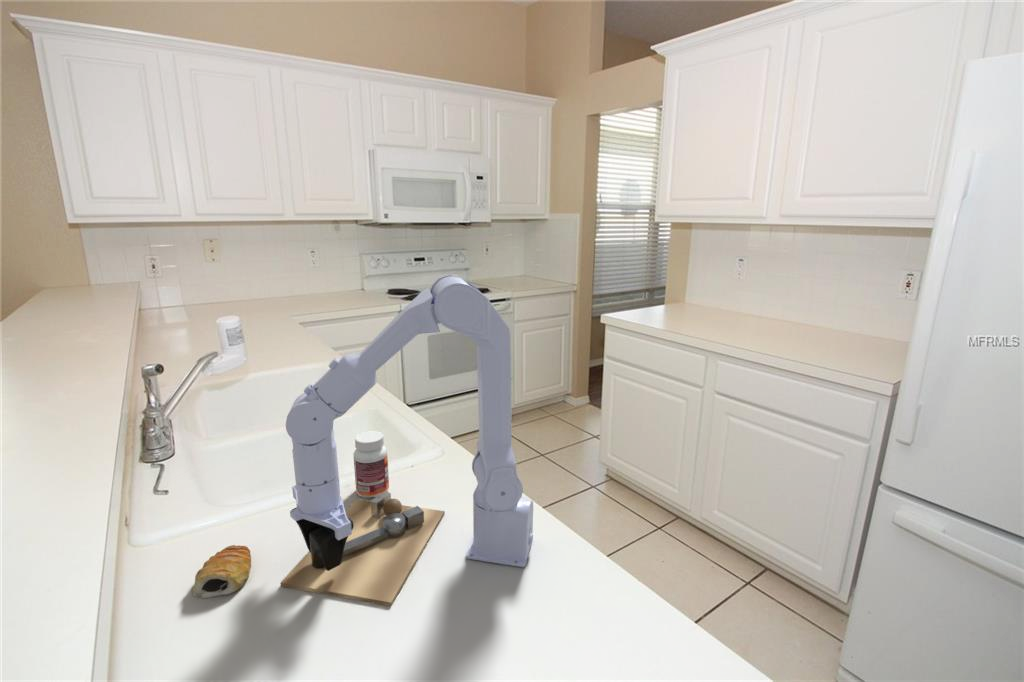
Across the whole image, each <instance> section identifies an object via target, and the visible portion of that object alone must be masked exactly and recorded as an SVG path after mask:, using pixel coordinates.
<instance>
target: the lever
mask: <svg viewBox="0 0 1024 682" xmlns="http://www.w3.org/2000/svg"><path fill="white" fill-rule="evenodd" d="M413 507H414V508H411V509H409V510H406V511H404V512H402V514H400V513H392V514H389V515H387V516H385V517H384V519H383V527H382V528H379V529H377V530H374V531H372V532H370V533H367V534H365V535H362V536H360V537H358V538H355V539H353V540H350V541H348V542H346V543H345V547H344V551H343V556H342V557H345V556H347V555H349V554H352V553H354V552H356V551H358V550H361V549H363V548H365V547H368V546H370V545H372V544H375V543H377V542H379V541H382V540H384V539H386V538H397V537H400V536H402V535H403V534H404V533H405V531H406V528H408V529H410V528H413V527H415V526H417V525H419V524H422V523H424V511H423V510H422V509H421V508H422V507H420V506H418V505H416V506H413ZM320 527H322V526H317V527H315V528H313V529H311V530H310V532H311V531H313V530H315V529H318V528H320ZM310 532H309V539H310V549H311V559H312V566H313V567H314V568H317V569H320V568H325V567H324V564H323V561H322V557H321V553H320V550H319V547H318V545H317V543H316V541H315V540H314V538H313V537H312V536H311V535H310Z"/></svg>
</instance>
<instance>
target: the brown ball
mask: <svg viewBox="0 0 1024 682" xmlns="http://www.w3.org/2000/svg"><path fill="white" fill-rule="evenodd" d="M402 505H403V504H402V502H401V501H400V500H399V499H397V498H391V499H389V500H388V501H386V503H385V504H384V507H383V511H384V514H385V515H386V516H387V515H389V514H392V513H401V511H402Z"/></svg>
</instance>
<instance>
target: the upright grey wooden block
mask: <svg viewBox="0 0 1024 682" xmlns="http://www.w3.org/2000/svg"><path fill="white" fill-rule="evenodd" d="M389 499H392V493H391V492H389V491H387V492H386V491H384V492H383V493H381V494H380V495H378V496H377V497H374V498H372V500H370V501H371V516H372V517H375V518H379V517H380V516H382V515H383V514H384V511H383V507H384V504H385V503H386V501H388V500H389Z"/></svg>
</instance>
